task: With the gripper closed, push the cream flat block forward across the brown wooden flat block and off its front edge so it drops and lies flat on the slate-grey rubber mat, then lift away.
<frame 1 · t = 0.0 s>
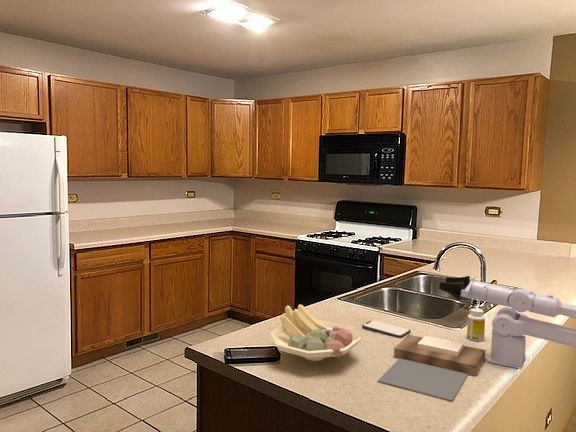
hand: (442, 282, 150), 22 cm above the worktop, tool horizontal, fingers open, 7 cm apart
brown wooden flat block: (439, 358, 144), on the worktop
cream flat block: (440, 348, 145), point 3 cm above the worktop, touching brown wooden flat block
mat: (423, 378, 130), on the worktop
supplement bottle: (475, 339, 161), on the worktop
phone case: (385, 331, 169), on the worktop
dish with food: (314, 357, 145), on the worktop
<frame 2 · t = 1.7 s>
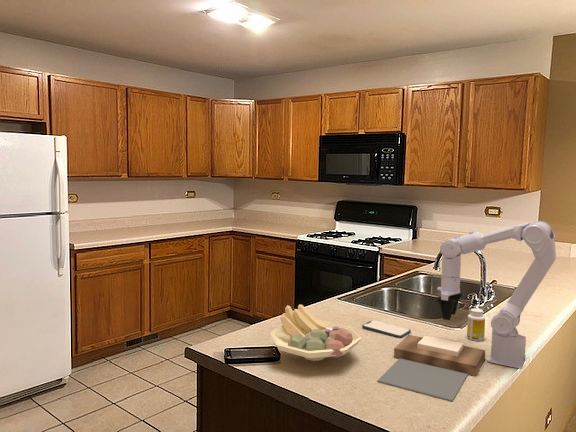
hand: (449, 316, 152), 10 cm above the worktop, tool pointing down, fingers open, 6 cm apart
nothing on the worktop moved.
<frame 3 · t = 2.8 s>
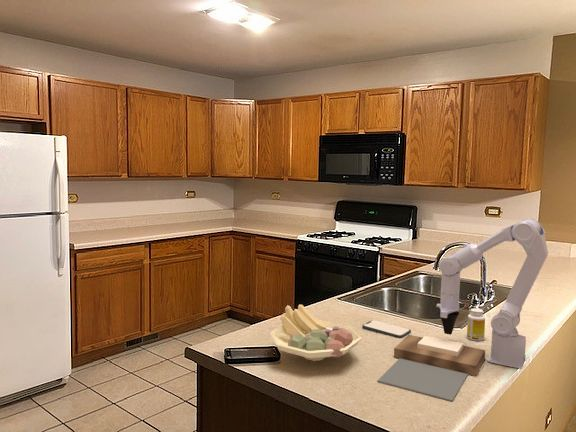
hand: (448, 333, 152), 5 cm above the worktop, tool pointing down, fingers closed
nothing on the worktop moved.
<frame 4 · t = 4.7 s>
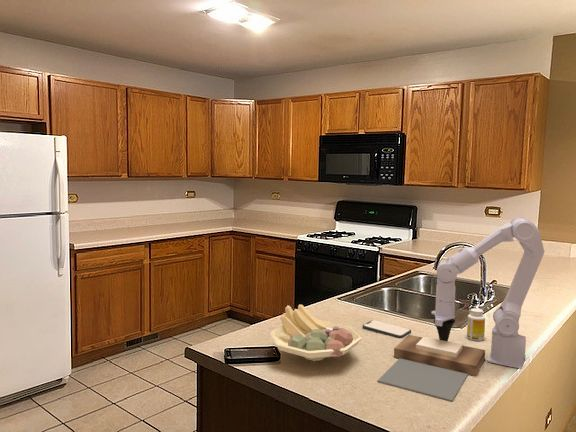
hand: (443, 341, 148), 4 cm above the worktop, tool pointing down, fingers closed
cream flat block: (439, 349, 144), point 3 cm above the worktop
everything else where it was.
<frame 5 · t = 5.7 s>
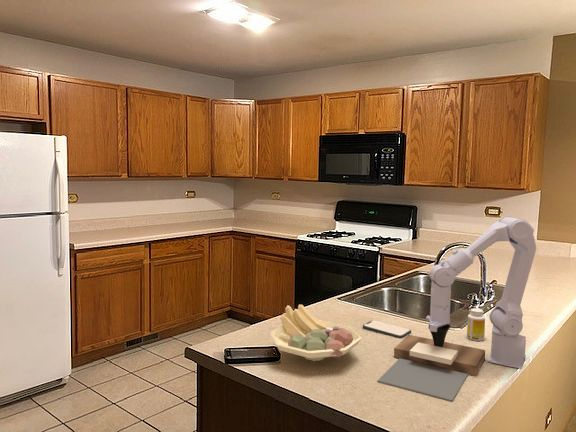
hand: (438, 347, 143), 4 cm above the worktop, tool pointing down, fingers closed
cream flat block: (433, 355, 139), point 3 cm above the worktop, touching brown wooden flat block
everything else where it was.
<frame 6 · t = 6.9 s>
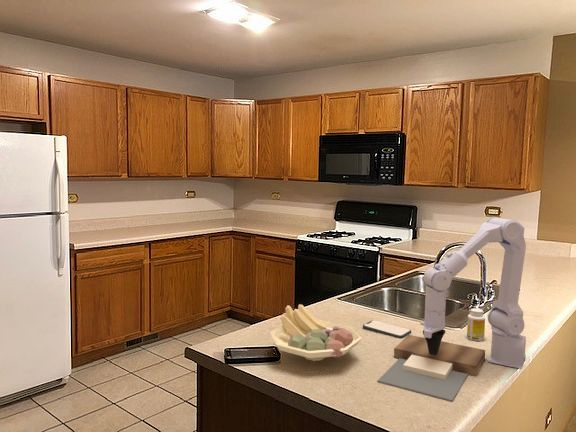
hand: (433, 354, 138), 4 cm above the worktop, tool pointing down, fingers closed
cream flat block: (427, 369, 135), point 1 cm above the worktop, touching mat
everything else where it was.
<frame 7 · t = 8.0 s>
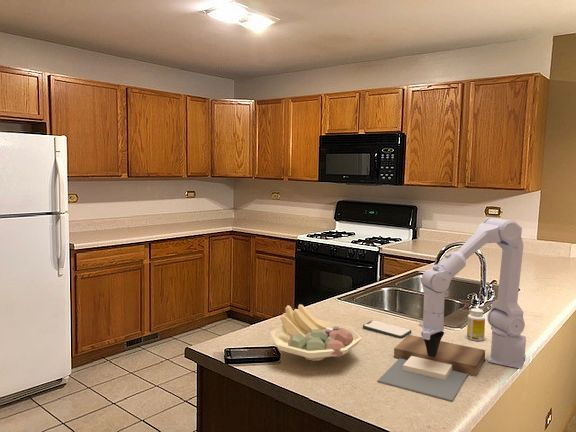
hand: (431, 355, 137), 4 cm above the worktop, tool pointing down, fingers closed
nothing on the worktop moved.
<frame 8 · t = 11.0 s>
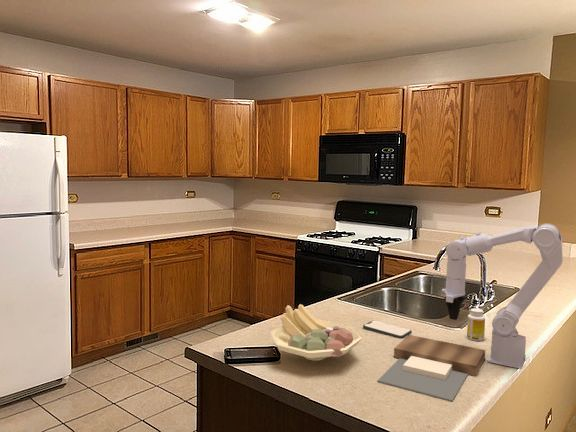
hand: (453, 318, 150), 10 cm above the worktop, tool pointing down, fingers closed
nothing on the worktop moved.
at the end: cream flat block inside the target area on the mat (5.3 cm from its centre), point 0.4 cm above the mat's base; cream flat block tilted 0° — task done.
